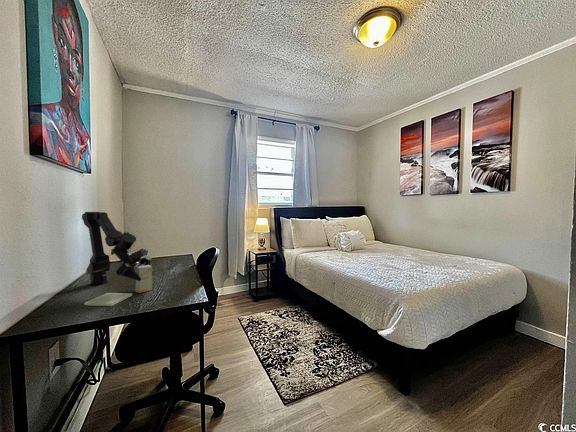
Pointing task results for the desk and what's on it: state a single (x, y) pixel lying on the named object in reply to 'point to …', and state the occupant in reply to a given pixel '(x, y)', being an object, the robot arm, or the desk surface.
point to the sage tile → (108, 299)
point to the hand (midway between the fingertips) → (146, 277)
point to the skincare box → (144, 278)
